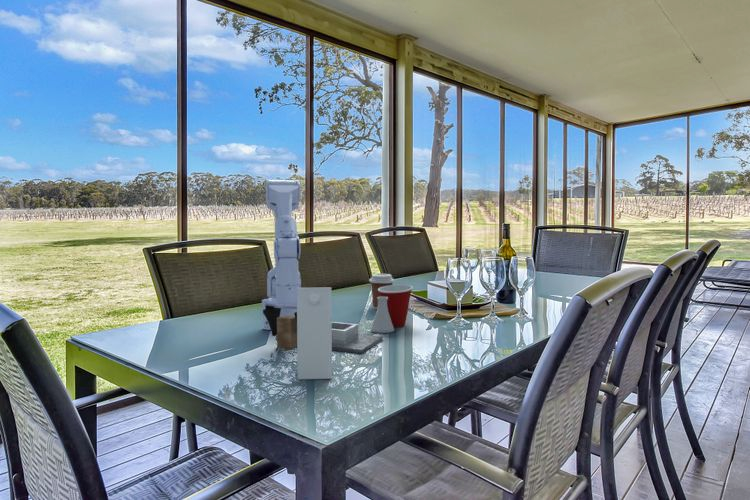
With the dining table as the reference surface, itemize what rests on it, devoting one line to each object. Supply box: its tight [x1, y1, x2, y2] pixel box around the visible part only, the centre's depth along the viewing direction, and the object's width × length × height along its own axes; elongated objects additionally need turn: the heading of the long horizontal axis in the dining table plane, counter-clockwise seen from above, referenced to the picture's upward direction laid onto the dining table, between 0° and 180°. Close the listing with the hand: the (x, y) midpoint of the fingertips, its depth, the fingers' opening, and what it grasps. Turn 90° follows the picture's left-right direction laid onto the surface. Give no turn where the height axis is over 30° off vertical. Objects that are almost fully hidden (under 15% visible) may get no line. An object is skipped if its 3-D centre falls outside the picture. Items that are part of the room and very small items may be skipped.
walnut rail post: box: [276, 315, 297, 351], centre depth 130 cm, size 4×4×8 cm
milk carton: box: [296, 286, 333, 380], centre depth 108 cm, size 7×7×19 cm
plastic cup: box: [378, 284, 414, 328], centre depth 154 cm, size 11×11×12 cm
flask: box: [370, 297, 395, 334], centre depth 147 cm, size 7×7×10 cm
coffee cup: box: [368, 273, 395, 310], centre depth 182 cm, size 9×9×12 cm
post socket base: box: [332, 321, 384, 355], centre depth 134 cm, size 20×14×4 cm
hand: (287, 336), depth 130 cm, fingers open, 7 cm apart
